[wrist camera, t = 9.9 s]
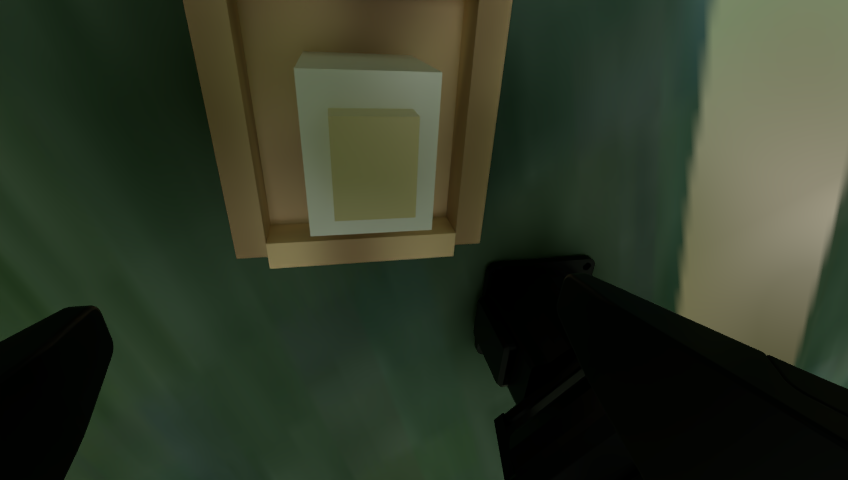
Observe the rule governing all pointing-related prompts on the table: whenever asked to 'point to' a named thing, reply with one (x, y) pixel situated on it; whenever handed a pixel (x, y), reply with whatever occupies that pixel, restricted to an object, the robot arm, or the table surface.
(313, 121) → the plug block
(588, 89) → the table surface
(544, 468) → the robot arm
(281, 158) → the wooden tray
